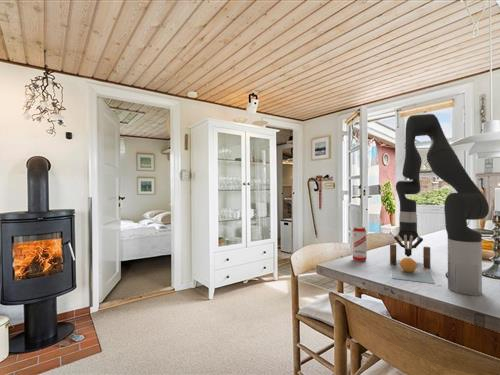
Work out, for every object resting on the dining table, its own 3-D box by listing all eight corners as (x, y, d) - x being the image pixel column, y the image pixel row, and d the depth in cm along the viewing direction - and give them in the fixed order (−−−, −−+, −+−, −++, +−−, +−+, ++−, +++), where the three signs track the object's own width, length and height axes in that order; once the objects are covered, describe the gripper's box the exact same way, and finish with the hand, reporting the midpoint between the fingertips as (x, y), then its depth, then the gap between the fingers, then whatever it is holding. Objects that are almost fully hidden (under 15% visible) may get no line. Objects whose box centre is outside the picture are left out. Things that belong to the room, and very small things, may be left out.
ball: (416, 262, 118) (417, 275, 114) (400, 260, 121) (400, 274, 117) (416, 255, 113) (416, 269, 110) (399, 254, 117) (399, 268, 113)
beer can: (367, 262, 131) (367, 228, 131) (353, 261, 132) (353, 228, 132) (365, 259, 137) (364, 226, 137) (351, 258, 138) (351, 226, 138)
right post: (430, 268, 120) (430, 248, 120) (423, 268, 121) (423, 247, 121) (430, 267, 122) (429, 246, 122) (423, 266, 123) (423, 246, 123)
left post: (396, 265, 126) (396, 245, 126) (390, 264, 127) (389, 244, 127) (396, 263, 128) (396, 244, 128) (390, 263, 129) (389, 243, 129)
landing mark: (435, 284, 101) (435, 283, 101) (391, 278, 107) (391, 278, 107) (430, 273, 113) (430, 273, 113) (392, 269, 120) (392, 268, 120)
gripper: (392, 221, 136) (393, 256, 136) (424, 222, 130) (424, 259, 130) (392, 219, 143) (393, 253, 143) (423, 220, 137) (423, 256, 137)
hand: (408, 256), depth 136 cm, fingers closed
